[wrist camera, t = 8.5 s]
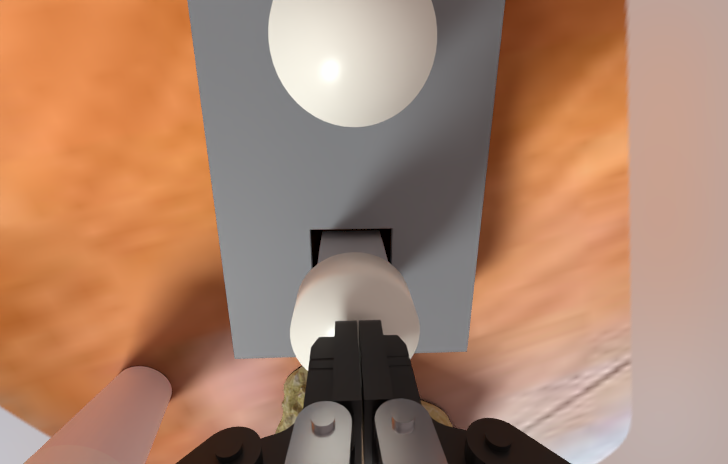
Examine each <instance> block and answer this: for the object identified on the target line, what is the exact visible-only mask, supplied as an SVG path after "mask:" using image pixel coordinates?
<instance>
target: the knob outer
mask: <svg viewBox="0 0 728 464" xmlns="http://www.w3.org/2000/svg"><path fill="white" fill-rule="evenodd" d="M354 320H357V329H358V346H359V320H381V324H382V330H383V335H398V336H399V337H400V338H401V339H402V340H403V341H404V343H405V344H406V345H407V349H408V353H409V358H410V359H411V357H412V356H413V354H414V352H415V350H416V348H417V345H418V341H419V335H420V324H419V319H418V316H417V313H416V310H415V307H414V304H413V301H412V298H411V295H410V292H409V289H408V286H407V284H406V282H405V280H404V278H403V276H402V275H401V273H400V272H399V271H398V270H397V269H396V268H395V267H394V266H393V265H392V264H390V263H389V262H388V260H387V256H386V252H385V249H384V245H383V241H382V238H381V234H380V231H379V230H359V231H322V237H321V244H320V250H319V257H318V264H317V265H316V266H315V267H313V268H312V269H311V270H310V271H309V273H308V274H307V275H306V276H305V278H304V279H303V281H302V283H301V285H300V288H299V291H298V294H297V299H296V303H295V308H294V312H293V316H292V321H291V326H290V340H291V345H292V348H293V351H294V353H295V355H296V357H297V359H298V360H299V362H300V363H301V365H302V366H303V367H304V368H305V369H306V370H307V371H308V366H309V360H310V351H311V347H312V345H313V344H314V343H315V341H316V340H317V339H318V338H319V337H334V335H335V321H354Z"/></svg>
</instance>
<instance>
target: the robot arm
mask: <svg viewBox="0 0 728 464" xmlns="http://www.w3.org/2000/svg"><path fill="white" fill-rule="evenodd" d="M362 439H363V456H364V464H571V463H569V462H568V461H566V460H565V459H563V458H561V457H560V456H558V455H557V454H555V453H554V452H552V451H551V450H549V449H548V448H546V447H545V446H543V445H542V444H540V443H539V442H537V441H535V440H534V439H532V438H531V437H529V436H528V435H526V434H525V433H523V432H522V431H520V430H519V429H517V428H516V427H514V426H512V425H511V424H509V423H507V422H505V421H502V420H499V419H494V418H483V419H479V420H476V421H474V422H473V423H472V424H471V425H470V426H469V428H468V429H467V431H466V430H462V429H458V428H454V427H450V426H446V425H444V424H441V423H439V422H437V421H436V420H434V419H433V418H431V417H430V415H429V413H428V411H427V410H426V409H425V408H424V407H423V406H422V404H421V400H420V396H419V393H418V389H417V385H416V381H415V377H414V373H413V369H412V366H411V361H410V358H409V353H408V349H407V345H406V344H405V343H404V341H403V340H402V339H401V338H400V337H399V336H398V335H383V330H382V324H381V320H359V346H358V329H357V320H354V321H335V335H334V337H319V338H318V339H317V340H316V341H315V343H314V344H313V345H312V347H311V351H310V360H309V366H308V374H307V382H306V389H305V397H304V405H303V410H302V411H301V412H300V413H299V414H298V416H297V417H296V420H295V423H294V424H293V425H291V426H290V427H289V428H287V429H286V430H284V431H282V432H279V433H277V434H274V435H271V436H268V437H264V438H261V439H260V437H259V435H258V434H257V433H256V432H255V431H253V430H252V429H249V428H246V427H231V428H227V429H224V430H221V431H219V432H217V433H216V434H214V435H213V436H211V437H210V438H208V439H207V440H206V441H205V442H203V443H202V444H201V445H199V446H198V447H197V448H195V449H194V450H193V451H192V452H190V453H189V454H188V455H186V456H185V457H184V458H182V459H181V460H180V461H179V462H177V463H176V464H362Z"/></svg>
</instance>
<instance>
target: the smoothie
mask: <svg viewBox="0 0 728 464" xmlns="http://www.w3.org/2000/svg"><path fill="white" fill-rule="evenodd" d="M171 395H172V388H171V384H170V382H169V381H168V379H167V378H166V377H165V376H164V375H163V374H162V373H160V372H159V371H157V370H155V369H152V368H149V367H144V366H135V367H130V368H127V369H125V370H123V371H122V372H121V373H120V374H119V375H118V376H116V377H115V378H114V379H113V380H112V381H111V382H110V383H109V384H108V385H107V386H106V387H105V388H104V389H103V390H102V391H101V392H99V393H98V394H97V395H96V396H95V397H94V398H93V399H92V400H91V401H90V402H89V403H88V404H87V405H86V406H85V407H84V408H82V409H81V410H80V411H79V412H78V413H77V414H76V415H75V416H74V417H73V418H72V419H71V420H70V421H69V422H68V423H67V424H65V425H64V426H63V427H62V428H61V429H60V430H59V431H58V432H57V433H56V434H55V435H54V436H53V437H52V438H51V439H49V440H48V441H47V442H46V443H45V444H44V445H43V446H42V447H41V448H40V449H39V450H38V451H37V452H36V453H35V454H34V455H32V456H31V457H30V458H29V459H28V460H27V461H26V462H25V463H24V464H145V462H146V460H147V457H148V455H149V452H150V449H151V447H152V444H153V442H154V439H155V437H156V434H157V431H158V429H159V426H160V424H161V421H162V419H163V416H164V413H165V411H166V408H167V406H168V403H169V401H170V398H171Z"/></svg>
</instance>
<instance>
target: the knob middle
mask: <svg viewBox="0 0 728 464" xmlns="http://www.w3.org/2000/svg"><path fill="white" fill-rule="evenodd" d="M268 40H269V47H270V53H271V57H272V61H273V65H274V67H275V70H276V72H277V75H278V77H279V79H280V80H281V82H282V84H283V86H284V87H285V89H286V90H287V92H288V93H289V95H290V96H291V97H292V98H293V99H294V100H295V101H296V102H297V103H298V104H299V105H300V106H301V107H302V108H303V109H304V110H306V111H307V112H309V113H310V114H312V115H313V116H315V117H317V118H319V119H321V120H323V121H325V122H328V123H331V124H334V125H338V126H343V127H365V126H370V125H374V124H377V123H380V122H383V121H385V120H387V119H389V118H391V117H393V116H395V115H396V114H398V113H399V112H401V111H402V110H403V109H404V108H405V107H407V106H408V105H409V104H410V103H411V102H412V101H413V99H414V98H415V97H416V96H417V95H418V93H419V92H420V90H421V89H422V87H423V86H424V84H425V82H426V80H427V78H428V76H429V74H430V71H431V68H432V66H433V62H434V58H435V54H436V46H437V23H436V16H435V11H434V7H433V4H432V1H431V0H273V2H272V6H271V10H270V15H269V25H268Z"/></svg>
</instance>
